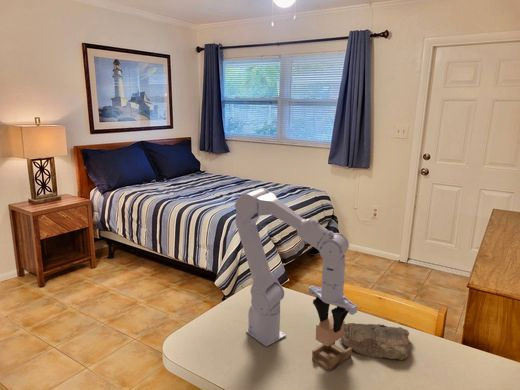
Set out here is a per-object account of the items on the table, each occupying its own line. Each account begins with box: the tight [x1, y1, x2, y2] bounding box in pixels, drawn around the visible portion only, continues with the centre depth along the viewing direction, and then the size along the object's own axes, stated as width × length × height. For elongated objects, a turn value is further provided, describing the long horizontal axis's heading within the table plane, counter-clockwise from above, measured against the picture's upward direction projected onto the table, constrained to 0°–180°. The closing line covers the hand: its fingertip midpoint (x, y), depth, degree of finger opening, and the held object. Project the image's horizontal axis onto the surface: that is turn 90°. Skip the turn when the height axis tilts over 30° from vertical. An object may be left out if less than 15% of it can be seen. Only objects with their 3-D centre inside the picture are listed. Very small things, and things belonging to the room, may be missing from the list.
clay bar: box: [315, 315, 346, 346], centre depth 102 cm, size 7×4×4 cm, turn 131°
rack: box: [311, 341, 353, 372], centre depth 103 cm, size 9×6×3 cm
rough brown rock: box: [340, 322, 410, 361], centre depth 110 cm, size 14×5×20 cm
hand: (330, 327), depth 102 cm, fingers closed on clay bar, 4 cm apart
